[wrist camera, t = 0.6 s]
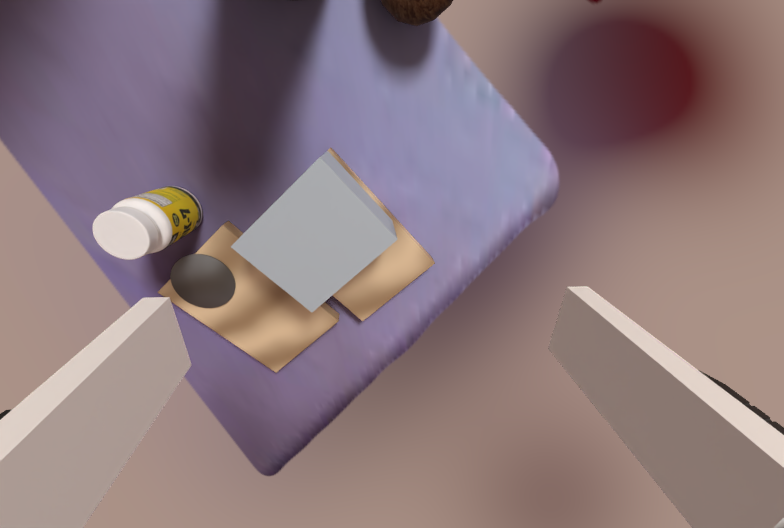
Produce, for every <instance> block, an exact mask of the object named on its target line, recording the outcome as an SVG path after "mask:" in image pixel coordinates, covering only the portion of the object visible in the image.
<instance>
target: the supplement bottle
mask: <svg viewBox="0 0 784 528" xmlns="http://www.w3.org/2000/svg"><path fill="white" fill-rule="evenodd" d="M201 221H202V208H201V205H200V203H199V201H198V200H197V198H196V197H195V196H194V195H193V194H192V193H190V192H189V191H187V190H185V189H183V188H180V187H176V186H166V187H162V188H159V189H156V190H153V191H149V192H146V193H143V194H140V195H137V196H134V197H131V198H127V199H124V200H122V201H120V202H118V203H117V204H116V205H114V206H113V208H112V209H111V210H108V211H106V212H103V213H101V214H100V215H99V216H98V217H97V218H96V219H95V221H94V223H93V234H94V237H95V239H96V241H97V242H98V244H99V245H100V246H101V247H102V248H103V249H104V250H105V251H106V252H108V253H109V254H111V255H113V256H115V257H118V258H121V259H128V260H130V259H137V258H140V257H142V256H144V255H146V254H149V253H155V252H158V251H161V250H163V249H165V248H166V247H168V246H169V245H171V244H172V243H174V242H176V241H177V240H179V239H180V238H182V237H183V236H185V235H186V234H188V233H190V232H191V231H193V230H194V229H196V228H197V227H198V226H199V224H200V223H201Z"/></svg>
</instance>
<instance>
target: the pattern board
mask: <svg viewBox="0 0 784 528" xmlns="http://www.w3.org/2000/svg"><path fill="white" fill-rule="evenodd" d="M328 151H329V152H330V154H331V155H332V156H333V157H334V158H335V159H336V160H337V161H338V162H339V163H340V164H341V165H342V167H343V168H344V169H345V170H346V171H347V172H348V173H349V174H350V175H351V176H352V177H353V178H354V179H355V181H356V182H357V183H358V184H359V185H360V186H361V187H362V188H363V189H364V190H365V191H366V192H367V194H368V195H369V196H370V197H371V198H372V199H373V200H374V201H375V202H376V203H377V204H378V205H379V207H380V208H381V209H382V210H383V211H384V212H385V213H386V214H387V215H388V216H389V217H390V218H391V220H392V221H393V225H394V228H395V232H396V235H397V239H398V240H396V241H395V242H394V243H393V244H392V245H391V246H389V247H388V248H387V249H386V250H385V251H384V252H382V253H381V254H380V255H379V256H378V257H377V258H375V259H374V260H373V261H372V262H371V263H370V264H368V265H367V266H366V267H365V268H364V269H363V270H361V271H360V272H359V273H358V274H357V275H355V276H354V277H353V278H352V279H351V280H350V281H348V282H347V283H346V284H345V285H344V286H343V287H341V288H340V289H339V290H338V291H337V292H336V293H334V294H333V296H334V297H335V298H336V299H337V300H338V301H340V302H341V303H342V304H343V305H344V306H345V307H347V308H348V309H349V310H350V311H351V312H352V313H353V314H355V315H356V316H357V317H358V318H359V319H360V320H362V321H364V320H365V319H366V318H367V317H369V316H370V315H371V314H372V313H374V312H375V311H376V310H377V309H379V308H380V307H381V306H382V305H384V304H385V303H386V302H387V301H389V300H390V299H391V298H392V297H394V296H395V295H396V294H397V293H399V292H400V291H401V290H402V289H403V288H405V287H406V286H407V285H408V284H410V283H411V282H412V281H413V280H415V279H416V278H417V277H418V276H420V275H421V274H422V273H423V272H425V271H426V270H427V269H428V268H430V267H431V266H432V265H433V264H435V262H434V260H433V258H432V257H431V256H430V255H429V254H428V253H427V252H426V251H425V249H424V248H423V247H422V246H421V245H420V244H419V243H418V242H417V241H416V240H415V239H414V237H413V236H412V235H411V234H410V233H409V232H408V231H407V230H406V229H405V228H404V227H403V225H402V224H401V223H400V222H399V221H398V220H397V219H396V218H395V217H394V216H393V215H392V213H391V212H390V211H389V210H388V209H387V208H386V207H385V206H384V205H383V204H382V202H381V201H380V200H379V199H378V198H377V197H376V196H375V195H374V194H373V193H372V192H371V190H370V189H369V188H368V187H367V186H366V185H365V184H364V183H363V182H362V181H361V180H360V178H359V177H358V176H357V175H356V174H355V173H354V172H353V171H352V170H351V169H350V168H349V166H348V165H347V164H346V163H345V162H344V161H343V160H342V159H341V158H340V157H339V156H338V154H337V153H336V152H335V151H334V150H333V149H332V148H330V149H329V150H328Z"/></svg>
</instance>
